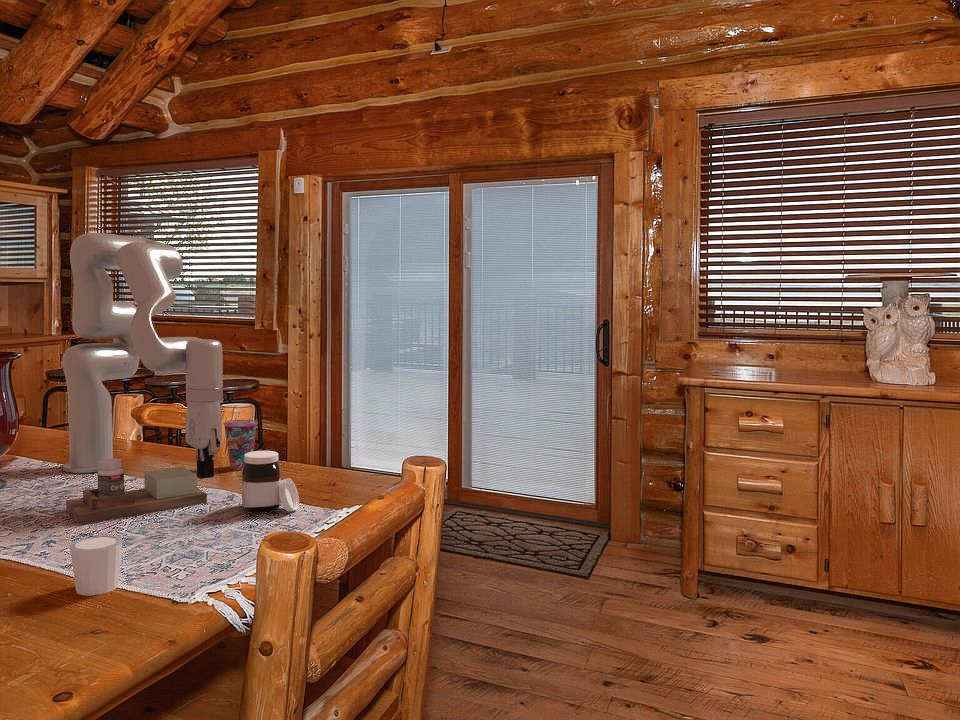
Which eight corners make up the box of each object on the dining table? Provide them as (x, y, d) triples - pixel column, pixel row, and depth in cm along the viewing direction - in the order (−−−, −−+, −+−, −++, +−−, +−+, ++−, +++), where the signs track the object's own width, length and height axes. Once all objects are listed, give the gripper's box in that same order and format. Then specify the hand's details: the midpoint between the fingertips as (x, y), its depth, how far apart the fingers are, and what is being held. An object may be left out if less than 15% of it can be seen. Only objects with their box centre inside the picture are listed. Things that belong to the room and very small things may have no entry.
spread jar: (240, 503, 146) (240, 450, 145) (294, 498, 150) (294, 446, 149) (244, 520, 135) (244, 462, 134) (302, 514, 139) (302, 458, 138)
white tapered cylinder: (109, 574, 107) (108, 531, 106) (132, 585, 103) (131, 541, 102) (62, 589, 101) (61, 543, 101) (85, 601, 97) (83, 554, 97)
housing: (66, 509, 138) (65, 490, 138) (187, 490, 154) (187, 473, 154) (79, 525, 129) (78, 504, 129) (206, 502, 145) (206, 484, 145)
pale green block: (144, 489, 147) (144, 471, 146) (182, 483, 152) (182, 466, 152) (157, 499, 140) (157, 480, 140) (197, 492, 145) (196, 474, 145)
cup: (216, 469, 174) (215, 423, 173) (239, 462, 181) (239, 418, 180) (245, 473, 170) (244, 426, 169) (267, 466, 178) (267, 421, 177)
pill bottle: (113, 504, 136) (112, 463, 135) (92, 503, 137) (91, 462, 136) (129, 498, 140) (128, 458, 140) (109, 496, 141) (108, 457, 141)
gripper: (175, 392, 152) (176, 473, 154) (199, 401, 141) (200, 487, 143) (209, 390, 157) (210, 468, 159) (234, 398, 146) (235, 481, 148)
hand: (205, 477), depth 151 cm, fingers closed
